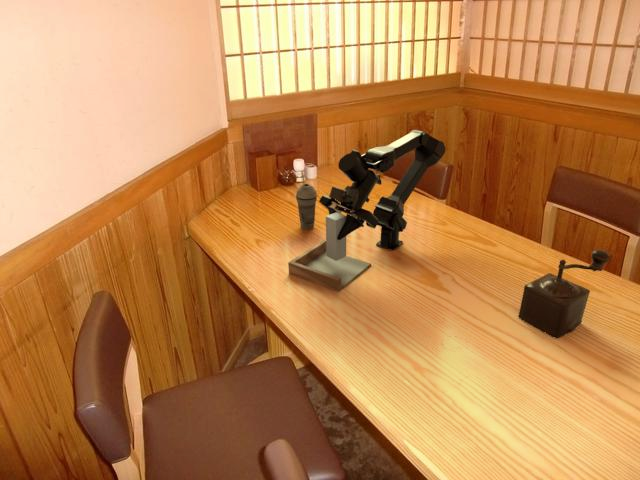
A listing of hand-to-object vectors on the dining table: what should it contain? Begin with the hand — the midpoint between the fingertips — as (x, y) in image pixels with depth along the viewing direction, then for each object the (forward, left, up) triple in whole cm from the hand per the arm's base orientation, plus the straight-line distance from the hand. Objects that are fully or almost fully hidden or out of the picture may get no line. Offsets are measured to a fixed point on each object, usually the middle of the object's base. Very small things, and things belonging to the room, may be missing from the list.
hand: (332, 237), depth 129 cm
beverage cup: (-20, -25, -11) cm, 34 cm away
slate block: (-1, 0, -7) cm, 7 cm away
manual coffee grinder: (-12, +57, -11) cm, 60 cm away
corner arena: (-1, -1, -11) cm, 11 cm away
